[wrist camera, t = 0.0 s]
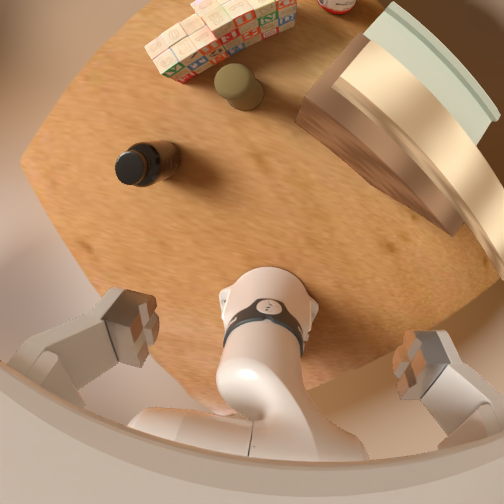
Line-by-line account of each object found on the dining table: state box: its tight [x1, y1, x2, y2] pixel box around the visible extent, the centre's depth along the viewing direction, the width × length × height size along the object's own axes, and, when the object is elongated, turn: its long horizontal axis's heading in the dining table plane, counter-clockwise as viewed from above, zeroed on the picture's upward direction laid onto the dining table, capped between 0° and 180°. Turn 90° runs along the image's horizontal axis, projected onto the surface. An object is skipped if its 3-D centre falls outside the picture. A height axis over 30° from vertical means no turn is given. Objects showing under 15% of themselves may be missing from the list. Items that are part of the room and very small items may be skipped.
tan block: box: [331, 39, 504, 281], centre depth 16 cm, size 24×4×4 cm, turn 54°
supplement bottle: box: [115, 140, 180, 187], centre depth 40 cm, size 7×7×12 cm
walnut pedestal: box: [295, 32, 465, 237], centre depth 28 cm, size 16×7×26 cm, turn 54°
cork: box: [214, 63, 264, 111], centre depth 35 cm, size 6×6×11 cm
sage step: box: [363, 2, 500, 146], centre depth 29 cm, size 18×12×19 cm, turn 54°
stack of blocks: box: [145, 0, 297, 84], centre depth 31 cm, size 21×6×12 cm, turn 119°
